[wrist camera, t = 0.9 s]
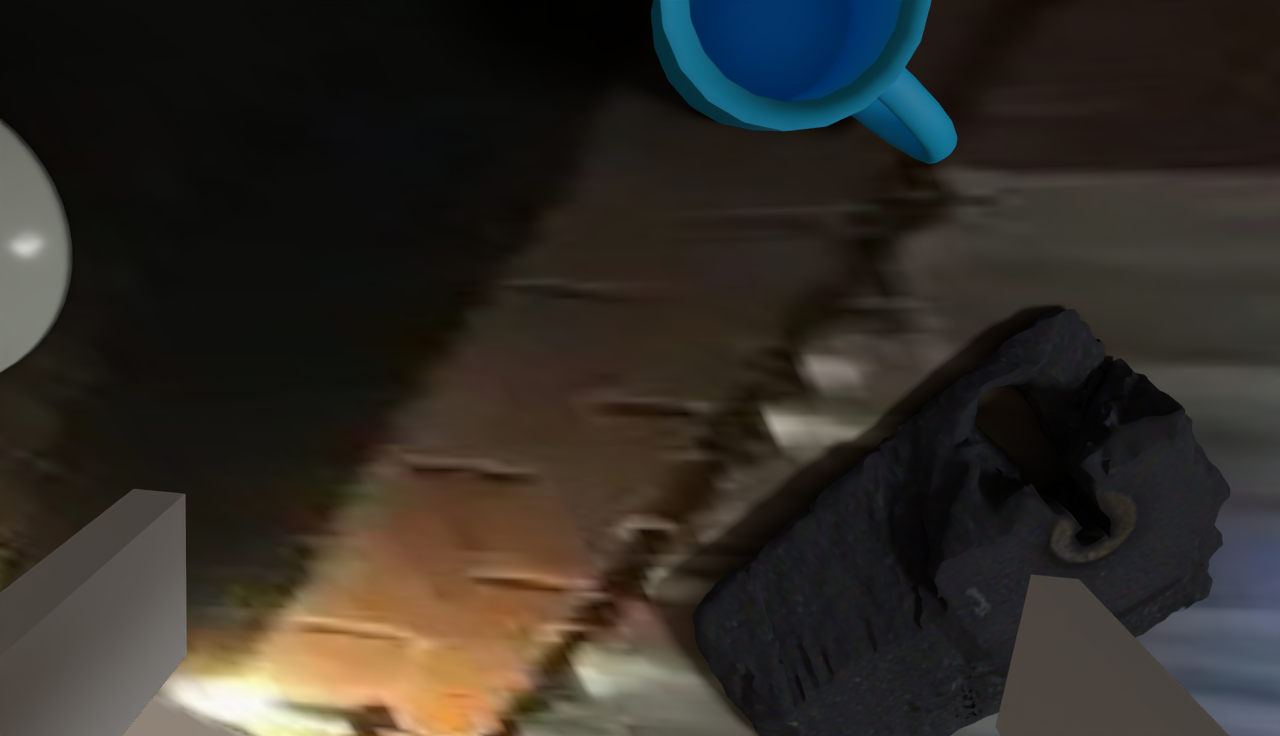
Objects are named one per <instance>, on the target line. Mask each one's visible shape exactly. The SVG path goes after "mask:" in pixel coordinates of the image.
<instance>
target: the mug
mask: <svg viewBox="0 0 1280 736" xmlns="http://www.w3.org/2000/svg"><path fill="white" fill-rule="evenodd" d="M930 4H931V0H653V4H652V9H651V20H652V29H653V39H654V49H655V51H656V53H657V56H658V58H659V60H660V63H661V65H662V67H663V70H664V72H665V74H666V77H667V79H668V81H669V82H670V83H671V84H672V85H673V87H674V88H675V89H676V90H677V91H678V92H679V94H680V95H681V96H682V97H683V98H684V99H685V100H686V102H687V103H688V104H689V105H690V106H691V107H693V108H695V109H696V110H698V111H700V112H701V113H703V114H705V115H706V116H708V117H710V118H711V119H713V120H715V121H716V122H718V123H721V124H726V125H731V126H735V127H740V128H745V129H749V130H769V131H790V130H799V129H808V128H816V127H825V126H828V125H830V124H832V123H835V122H837V121H839V120H841V119H843V118H846V117H848V116H850V115H851V116H853V117H854V118H855V119H857V120H858V121H859V122H860V123H862V124H863V125H864V126H866V127H867V128H868V129H870V130H871V131H872V132H874V133H875V134H877V135H878V136H880V137H881V138H883V139H884V140H885V141H887V142H888V143H890V144H891V145H893V146H894V147H896V148H898V149H899V150H901V151H903V152H905V153H906V154H908V155H910V156H911V157H913V158H915V159H918V160H920V161H923V162H926V163H931V164H932V163H936V162H938V161H940V160H942V159H944V158H946V157H947V156H948V155H949V154H950V153H951V152H952V151H953V150H954V148H955V146H956V143H957V135H956V132H955V129H954V126H953V123H952V121H951V120H950V118H949V117H948V115H947V114H946V113H945V111H944V110H943V109H942V107H941V106H940V104H939V103H938V102H937V101H936V100H935V99H934V98H933V96H932V95H931V94H930V93H929V92H928V91H927V90H926V89H925V88H924V87H923V86H922V84H921V83H920V82H919V81H918V80H917V79H916V78H915V77H914V76H913V75H912V74H911V73H910V72H909V71H908V70H907V69H906V68H905V66H906V64H907V63H908V61H909V59H910V58H911V56H912V55H913V53H914V51H915V50H916V48H917V46H918V45H919V43H920V41H921V38H922V34H923V30H924V27H925V23H926V19H927V15H928V11H929V8H930Z"/></svg>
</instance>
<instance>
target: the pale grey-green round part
mask: <svg viewBox="0 0 1280 736" xmlns="http://www.w3.org/2000/svg"><path fill="white" fill-rule="evenodd" d="M71 273H72V241H71V234H70V227H69V223H68V219H67V215H66V212H65V208H64V205H63V202H62V200H61V198H60V195H59V193H58V190H57V188H56V186H55V184H54V182H53V180H52V178H51V177H50V175H49V173H48V171H47V169H46V168H45V166H44V165H43V163H42V162H41V161H40V159H39V158H38V156H37V155H36V154H35V152H34V151H33V149H32V148H31V147H30V146H29V145H28V144H27V143H26V142H25V140H24V139H23V138H22V137H21V136H20V135H19V134H18V133H17V132H16V131H15V130H14V129H13V128H12V127H11V126H9V125H8V124H7V123H6V122H5V121H4V120H3V119H1V118H0V372H2V371H4V370H7V369H8V368H10V367H12V366H13V365H15V364H16V363H18V362H20V361H21V360H23V359H24V358H25V357H26V356H27V355H29V354H30V353H31V352H32V351H33V350H35V349H36V348H37V347H38V345H39V344H40V343H41V342H42V341H43V340H44V339H45V337H46V336H47V335H48V334H49V332H50V331H51V329H52V327H53V326H54V324H55V323H56V321H57V320H58V317H59V315H60V313H61V311H62V308H63V306H64V304H65V301H66V297H67V294H68V290H69V286H70V281H71Z"/></svg>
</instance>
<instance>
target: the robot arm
mask: <svg viewBox="0 0 1280 736" xmlns="http://www.w3.org/2000/svg"><path fill="white" fill-rule="evenodd" d="M186 655H187V648H186V536H185V494H181V493H170V492H160V491H149V490H139V489H133V490H132V491H131V492H129V493H128V494H127V495H125V496H124V497H123V498H122V499H120V500H119V501H118V502H116V503H115V504H114V505H113V506H111V507H110V508H109V509H107V510H106V511H105V512H104V513H102V514H101V515H100V516H98V517H97V518H96V519H95V520H93V521H92V522H91V523H89V524H88V525H87V526H86V527H84V528H83V529H82V530H80V531H79V532H78V533H77V534H75V535H74V536H73V537H71V538H70V539H69V540H68V541H66V542H65V543H64V544H62V545H61V546H60V547H59V548H57V549H56V550H55V551H53V552H52V553H51V554H50V555H48V556H47V557H46V558H44V559H43V560H42V561H41V562H39V563H38V564H37V565H36V566H34V567H33V568H32V569H30V570H29V571H28V572H27V573H25V574H24V575H23V576H21V577H20V578H19V579H18V580H16V581H15V582H14V583H12V584H11V585H10V586H9V587H7V588H6V589H5V590H3V591H2V592H1V593H0V736H122V735H123V734H124V733H125V732H126V730H127V729H128V728H129V727H130V725H131V724H132V723H133V722H134V720H135V719H136V718H137V716H138V715H139V714H140V713H141V712H142V710H143V709H144V708H145V707H146V705H147V704H148V703H149V702H150V700H151V699H152V698H153V697H154V695H155V694H156V693H157V692H158V690H159V689H160V688H161V687H162V685H163V684H164V683H165V682H166V680H167V679H168V678H169V677H170V675H171V674H172V673H173V672H174V670H175V669H176V668H177V667H178V665H179V664H180V663H181V662H182V660H183V659H184V658H185V657H186ZM996 728H997V730H998V731H999V733H1000V735H1001V736H1229V735H1228V734H1227V733H1226V732H1225V731H1224V730H1223V729H1222V728H1221V727H1220V725H1219V724H1218V723H1217V722H1216V721H1215V720H1214V719H1213V718H1212V717H1211V716H1210V715H1209V714H1208V713H1207V712H1206V711H1205V710H1204V709H1203V708H1202V707H1201V706H1200V705H1199V704H1198V703H1197V702H1196V701H1195V700H1194V698H1193V697H1192V696H1191V695H1190V694H1189V693H1188V692H1187V691H1186V690H1185V689H1184V688H1183V687H1182V686H1181V685H1180V684H1179V683H1178V682H1177V681H1176V680H1175V679H1174V678H1173V677H1172V676H1171V675H1170V674H1169V672H1168V671H1167V670H1166V669H1165V668H1164V667H1163V666H1162V665H1161V664H1160V663H1159V662H1158V661H1157V660H1156V659H1155V658H1154V657H1153V656H1152V655H1151V654H1150V653H1149V652H1148V651H1147V650H1146V649H1145V648H1144V647H1143V645H1142V644H1141V643H1140V642H1139V641H1138V640H1137V639H1136V638H1135V637H1134V636H1133V635H1132V634H1131V633H1130V632H1129V631H1128V630H1127V629H1126V628H1125V627H1124V626H1123V625H1122V624H1121V623H1120V622H1119V621H1118V620H1117V618H1116V617H1115V616H1114V615H1113V614H1112V613H1111V612H1110V611H1109V610H1108V609H1107V608H1106V607H1105V606H1104V605H1103V604H1102V603H1101V602H1100V601H1099V600H1098V599H1097V598H1096V597H1095V596H1094V595H1093V594H1092V593H1091V591H1090V590H1089V589H1088V588H1087V587H1086V586H1085V585H1084V584H1083V583H1082V582H1081V581H1080V580H1079V579H1072V578H1061V577H1051V576H1040V575H1031V578H1030V582H1029V586H1028V590H1027V595H1026V599H1025V603H1024V608H1023V612H1022V616H1021V620H1020V625H1019V629H1018V633H1017V638H1016V642H1015V646H1014V650H1013V655H1012V659H1011V663H1010V668H1009V672H1008V676H1007V680H1006V685H1005V689H1004V693H1003V698H1002V702H1001V706H1000V710H999V715H998V719H997V723H996Z"/></svg>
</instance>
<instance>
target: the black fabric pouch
mask: <svg viewBox="0 0 1280 736" xmlns="http://www.w3.org/2000/svg"><path fill="white" fill-rule="evenodd" d="M1105 351H1106V350H1105V346H1104V344H1103V343H1102V342H1101V341H1100V340H1099V339H1095V338H1094V337H1093V335H1092V333H1091V330H1090V328H1089V326H1088V324H1086V323H1085V322H1083V321H1081V320H1080V317H1079V314H1078V312H1077V311H1075V310H1074V309H1070V310H1065V311H1061V312H1049V313H1045V314H1043V315H1042V316H1040V317H1039V318H1038V319H1037V320H1036V322H1035V323H1034V324H1033V325H1030V326H1029V327H1028V328H1027V329H1026V330H1025V331H1023V332H1021V333H1019V334H1017V335H1015V336H1014V337H1012V338H1010V339H1009V340H1007V341H1006V342H1004V343H1003V344H1002V346H1001V347H1000V348H999V349H998V351H997V352H996V353H995V354H994V355H993V356H991V357H989V358H988V359H986V360H984V361H983V362H981V363H980V364H979V365H977V366H976V367H975V368H974V369H973V370H972V371H971V372H969V373H968V374H966V375H964V376H963V377H961V378H960V379H959V380H958V381H956V382H955V383H954V384H953V385H952V386H950V387H949V388H948V389H946V390H945V391H943V392H942V393H940V394H939V395H937V396H936V397H934V398H933V399H932V400H930V401H928V402H927V403H926V404H925V405H924V406H923V407H922V409H921V411H920V413H918V414H915V415H913V416H911V417H909V418H907V419H906V420H905V421H904V422H903V424H902V425H900V426H898V428H897V429H896V431H895V433H894V434H893V435H891V436H889V437H887V438H884V439H883V440H882V442H881V443H880V444H879V446H878V447H877V449H876V450H875V451H873V452H871V453H869V454H867V455H864V456H863V457H862V458H861V460H860V461H859V463H858V464H857V465H856V466H855V467H854V468H852V469H851V470H850V471H849V472H848V473H846V474H845V475H844V476H842V477H841V478H839V479H837V480H836V481H834V482H833V483H832V484H831V485H830V486H829V487H827V488H826V489H825V490H823V491H822V492H821V493H820V494H819V496H818V497H817V498H816V500H815V501H813V502H812V503H811V504H810V505H809V510H808V511H806V512H803V513H801V514H799V515H797V516H795V517H794V518H793V519H791V520H790V521H789V522H788V524H787V525H786V526H785V527H784V528H783V529H782V530H781V531H780V533H779V534H778V535H777V536H775V537H773V538H772V539H771V540H770V541H769V542H768V543H767V544H766V545H764V546H763V547H762V548H761V549H760V550H759V551H758V553H757V554H756V555H755V556H754V557H753V558H752V559H750V560H749V561H748V562H747V563H746V564H745V565H744V566H742V567H741V568H738V569H736V570H734V571H732V572H730V573H729V574H728V575H726V576H725V577H724V578H722V579H721V580H720V581H718V582H717V583H716V584H715V585H714V587H713V588H712V589H711V591H710V592H709V593H708V594H707V595H706V596H705V597H704V599H703V600H702V601H701V602H700V604H699V605H698V606H697V608H696V609H695V610H694V612H693V623H694V628H695V637H696V642H697V645H698V647H699V649H700V651H701V653H702V655H703V656H704V657H705V659H706V660H707V662H708V663H709V667H710V669H711V671H712V672H713V673H714V674H715V676H716V677H717V678H718V679H719V681H720V682H721V684H722V685H723V687H724V689H725V692H726V695H727V697H729V698H730V699H731V700H732V702H733V703H734V704H735V706H736V707H738V708H739V709H740V710H741V711H742V712H743V713H744V714H745V715H746V716H747V717H748V719H749V720H750V721H751V722H752V723H753V725H754V728H755V729H756V731H757V732H758V733H759V734H760V735H761V736H950V735H952V734H953V733H954V732H956V731H957V730H959V729H961V728H963V727H965V726H968V725H970V724H973V723H975V722H977V721H979V720H981V719H982V718H985V717H987V716H990V715H993V714H995V713H998V712H999V710H1000V706H1001V702H1002V698H1003V693H1004V689H1005V685H1006V680H1007V676H1008V672H1009V668H1010V663H1011V659H1012V655H1013V650H1014V646H1015V642H1016V638H1017V633H1018V629H1019V625H1020V620H1021V616H1022V612H1023V608H1024V603H1025V599H1026V595H1027V590H1028V586H1029V582H1030V578H1031V575H1040V576H1051V577H1061V578H1072V579H1079V580H1080V581H1081V582H1082V583H1083V584H1084V585H1085V586H1086V587H1087V588H1088V589H1089V590H1090V591H1091V593H1092V594H1093V595H1094V596H1095V597H1096V598H1097V599H1098V600H1099V601H1100V602H1101V603H1102V604H1103V605H1104V606H1105V607H1106V608H1107V609H1108V610H1109V611H1110V612H1111V613H1112V614H1113V615H1114V616H1115V617H1116V618H1117V620H1118V621H1119V622H1120V623H1121V624H1122V625H1123V626H1124V627H1125V628H1126V629H1127V630H1128V631H1129V632H1130V633H1131V634H1132V635H1133V636H1134V637H1137V636H1140V635H1142V634H1144V633H1145V632H1147V631H1148V630H1150V629H1151V628H1152V627H1153V626H1155V625H1156V624H1158V623H1160V622H1162V621H1164V620H1165V619H1166V618H1167V617H1168V616H1169V615H1170V614H1171V613H1173V612H1176V611H1183V610H1185V609H1187V608H1188V607H1190V606H1191V605H1192V604H1194V603H1195V602H1197V601H1201V600H1203V599H1205V598H1207V597H1208V595H1209V593H1210V589H1211V585H1212V578H1211V577H1210V576H1209V574H1208V572H1207V570H1208V566H1209V559H1210V558H1211V556H1212V555H1213V554H1214V553H1215V552H1216V551H1217V549H1218V548H1219V547H1221V546H1222V545H1223V542H1222V534H1221V533H1220V532H1219V530H1218V529H1217V528H1216V527H1215V526H1214V525H1215V522H1216V518H1217V515H1218V512H1219V510H1220V508H1221V506H1222V504H1223V503H1224V501H1226V500H1227V499H1228V498H1229V496H1230V488H1229V486H1228V484H1227V482H1226V480H1225V479H1224V478H1223V476H1222V474H1221V472H1220V471H1219V470H1218V469H1217V468H1216V467H1215V466H1214V465H1213V464H1212V463H1211V462H1210V461H1209V460H1208V458H1207V456H1206V454H1205V452H1204V451H1203V449H1202V447H1201V446H1200V445H1199V444H1198V443H1197V442H1196V440H1195V438H1194V436H1193V433H1192V420H1191V419H1190V418H1189V417H1188V416H1187V415H1186V414H1185V409H1184V408H1183V406H1182V405H1180V404H1179V403H1178V402H1177V401H1175V400H1174V399H1173V398H1172V397H1170V396H1169V395H1168V394H1166V393H1164V392H1162V391H1160V390H1158V389H1157V388H1156V387H1155V386H1154V385H1153V384H1152V383H1151V382H1150V381H1149V380H1148V378H1147V377H1146V376H1145V375H1143V374H1138V373H1135V372H1134V371H1133V370H1132V369H1131V368H1130V367H1129V366H1128V364H1127V363H1126V362H1125V361H1124V360H1122V359H1117V360H1114V361H1113V362H1112V364H1106V363H1105V361H1104V357H1105ZM1099 366H1100V367H1101V369H1099V370H1098V368H1099ZM1097 370H1098V371H1097ZM1102 370H1106V371H1107V373H1104V374H1103V371H1102ZM1005 385H1009V386H1012V387H1014V388H1016V389H1018V390H1020V391H1021V392H1022V393H1023V394H1024V396H1025V397H1026V400H1027V402H1028V403H1029V404H1030V405H1031V406H1033V408H1034V410H1035V412H1036V413H1037V415H1038V417H1039V421H1040V428H1041V431H1042V433H1043V435H1044V436H1045V437H1046V438H1047V439H1048V440H1049V441H1050V442H1053V443H1056V444H1059V446H1058V448H1057V451H1058V454H1059V458H1060V460H1061V462H1062V464H1063V466H1064V469H1065V470H1066V471H1067V472H1068V475H1067V478H1066V481H1065V484H1064V485H1062V484H1061V483H1060V482H1058V483H1057V484H1056V485H1055V486H1054V487H1049V488H1044V489H1041V490H1039V491H1036V489H1035V488H1034V486H1033V485H1031V484H1030V483H1029V484H1028V485H1026V484H1025V483H1023V482H1022V481H1021V479H1020V468H1019V466H1018V465H1017V464H1016V463H1015V462H1014V461H1013V460H1012V459H1011V458H1010V456H1009V455H1008V454H1007V453H1006V452H1005V451H1004V450H1003V449H1002V448H1001V447H1000V446H998V445H997V444H996V443H995V442H994V441H993V440H992V439H991V438H989V437H988V436H987V435H986V434H985V433H984V432H982V431H981V430H980V429H979V427H978V426H977V425H976V424H975V416H976V413H977V405H978V401H979V399H980V397H981V395H982V394H983V393H984V392H985V391H986V390H988V389H991V388H996V387H1002V386H1005Z"/></svg>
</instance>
